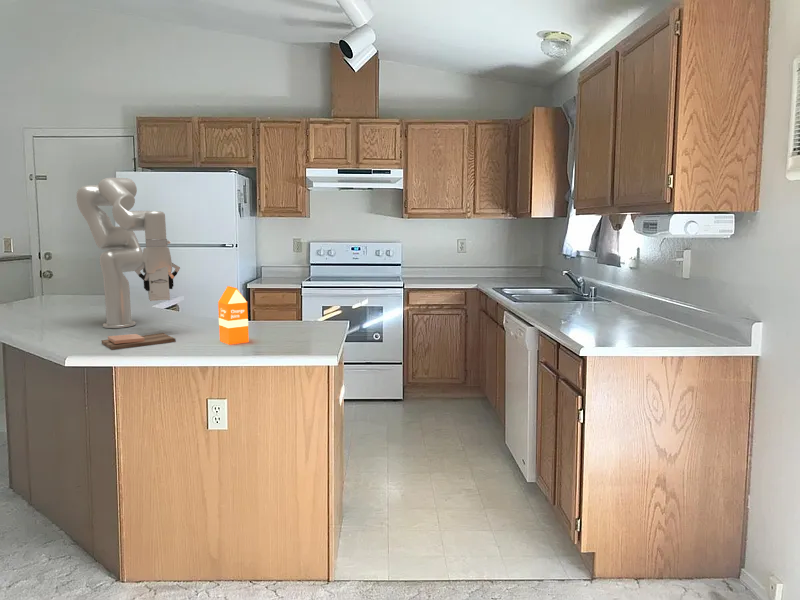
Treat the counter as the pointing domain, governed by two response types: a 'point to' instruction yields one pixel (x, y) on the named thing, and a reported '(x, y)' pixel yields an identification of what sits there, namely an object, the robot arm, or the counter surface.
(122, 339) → the tile
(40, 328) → the counter surface
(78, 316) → the counter surface
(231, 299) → the orange juice
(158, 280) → the supplement box
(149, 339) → the board
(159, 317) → the counter surface
